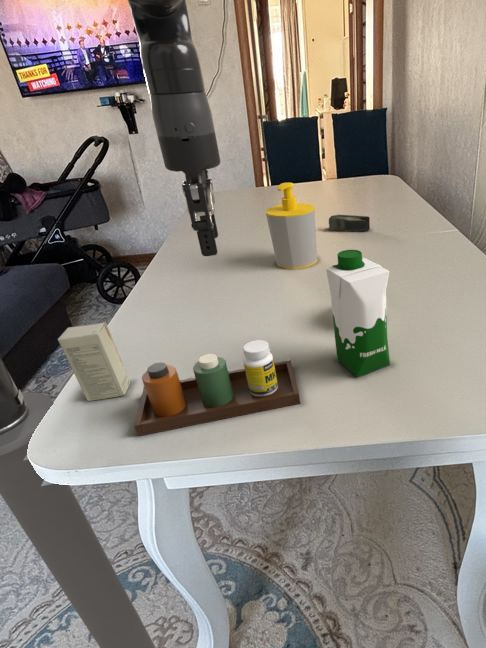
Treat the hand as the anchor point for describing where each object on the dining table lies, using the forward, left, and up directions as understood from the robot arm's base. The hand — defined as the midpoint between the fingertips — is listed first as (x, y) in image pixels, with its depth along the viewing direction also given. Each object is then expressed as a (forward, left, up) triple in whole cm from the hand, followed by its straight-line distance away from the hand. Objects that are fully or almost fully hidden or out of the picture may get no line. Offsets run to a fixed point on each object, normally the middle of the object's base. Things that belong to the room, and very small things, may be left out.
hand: (210, 246), depth 72 cm
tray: (-3, -8, -23) cm, 25 cm away
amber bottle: (-11, -8, -23) cm, 27 cm away
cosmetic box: (-22, +1, -24) cm, 32 cm away
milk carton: (+22, -5, -24) cm, 32 cm away
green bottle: (-4, -8, -23) cm, 24 cm away
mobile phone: (+38, +76, -24) cm, 89 cm away
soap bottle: (+18, +53, -24) cm, 61 cm away
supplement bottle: (+4, -8, -23) cm, 25 cm away
